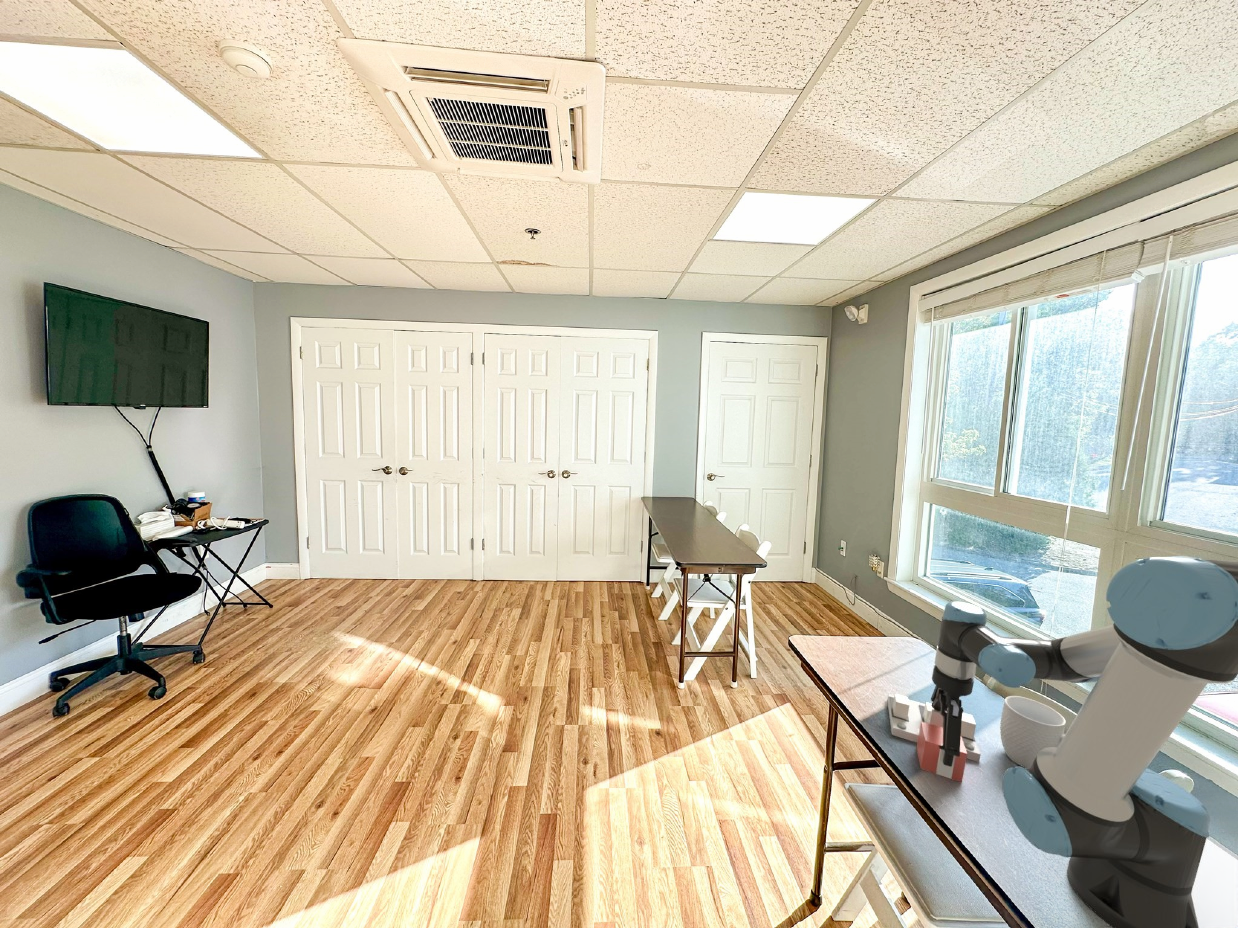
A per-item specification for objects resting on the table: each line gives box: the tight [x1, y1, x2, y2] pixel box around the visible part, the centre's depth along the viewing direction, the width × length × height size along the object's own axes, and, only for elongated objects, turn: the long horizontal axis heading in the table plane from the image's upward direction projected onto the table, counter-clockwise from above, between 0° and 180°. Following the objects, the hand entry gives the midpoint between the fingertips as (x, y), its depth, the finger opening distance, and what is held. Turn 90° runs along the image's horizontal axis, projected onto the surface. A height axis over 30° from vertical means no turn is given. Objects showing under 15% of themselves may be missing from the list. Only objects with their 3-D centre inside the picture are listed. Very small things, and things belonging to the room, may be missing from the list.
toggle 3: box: [961, 712, 977, 739], centre depth 119 cm, size 4×3×4 cm
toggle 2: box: [923, 701, 934, 724], centre depth 122 cm, size 4×3×4 cm
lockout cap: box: [916, 721, 968, 783], centre depth 110 cm, size 8×8×7 cm
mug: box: [999, 695, 1067, 768], centre depth 111 cm, size 15×11×13 cm
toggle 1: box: [893, 693, 910, 720], centre depth 125 cm, size 4×3×4 cm
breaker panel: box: [887, 693, 982, 763], centre depth 123 cm, size 16×18×2 cm
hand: (938, 754), depth 111 cm, fingers open, 13 cm apart
